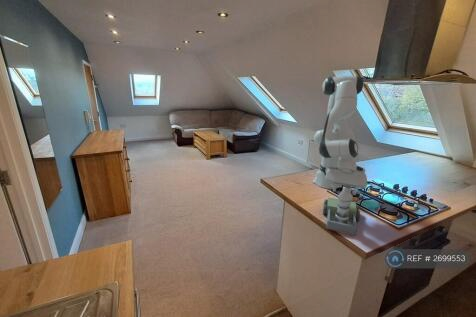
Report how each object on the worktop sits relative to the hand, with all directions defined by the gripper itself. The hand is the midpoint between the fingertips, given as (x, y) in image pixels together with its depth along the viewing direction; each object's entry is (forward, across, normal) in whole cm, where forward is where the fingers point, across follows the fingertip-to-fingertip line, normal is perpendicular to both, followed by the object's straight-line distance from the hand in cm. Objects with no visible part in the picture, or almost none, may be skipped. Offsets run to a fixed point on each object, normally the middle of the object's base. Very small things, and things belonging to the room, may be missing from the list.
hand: (343, 192), depth 116 cm
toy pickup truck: (+13, 0, +6) cm, 14 cm away
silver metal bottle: (+16, 0, +2) cm, 16 cm away
